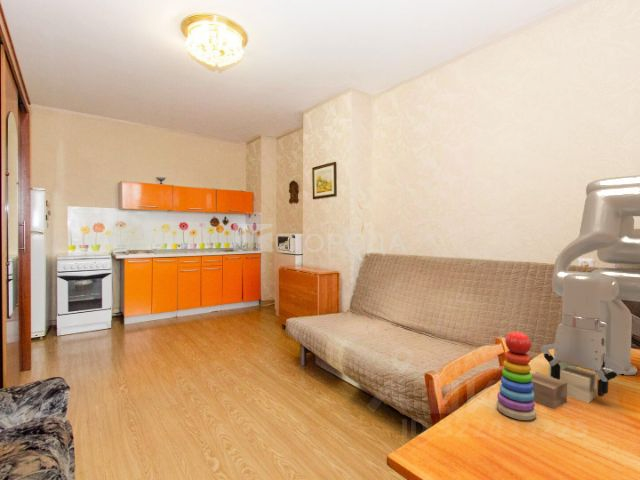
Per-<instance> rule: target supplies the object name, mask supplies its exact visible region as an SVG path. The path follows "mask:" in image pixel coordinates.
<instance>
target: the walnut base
mask: <svg viewBox="0 0 640 480" xmlns="http://www.w3.org/2000/svg"><path fill="white" fill-rule="evenodd" d="M531 374H532V380H531V382H532V383H533V386H534V387H533V392H534V399H533V400H534V403H538V404H540V405H543V406H544V407H547V408H549V409H552V410H555V409H556V408H558V407H560V406H562V405H563V404H565V403H567V401H568V400H567V399H568V396H567V382H564V381H561V380H558V379H555V378H552V377H549V375H546V374H543V373H540V372H537V371H535V372H534V373H531Z"/></svg>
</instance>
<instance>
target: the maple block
mask: <svg viewBox="0 0 640 480" xmlns="http://www.w3.org/2000/svg"><path fill="white" fill-rule="evenodd" d="M560 380H561V381H564V382H567V397H569V398H573V399H575V400H578V401H580V402H584V403H586V404H590V402H592V401H593V400H594V399H595V398H596V397H597V390H598V375H597V374H596V372H593V371H587V370H586V369H582V368H581V369H580V368H579V367H577V368H574V367H571V366H568V367H567V368H565V369H563V370H561V371H560Z"/></svg>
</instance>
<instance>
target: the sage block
mask: <svg viewBox="0 0 640 480" xmlns="http://www.w3.org/2000/svg"><path fill="white" fill-rule="evenodd" d="M552 356H553V358H554V359H555V357H554V355H552ZM559 365H560V371H561V370H563V369H565V368H567V367H568V366H571V367H574V368H578V367H577V366H574V365H570V364H567V363H563V362H560V363H559ZM548 371H549V373H548V376H549V377H551V366H550V365H549V369H548ZM552 378H553V377H552Z"/></svg>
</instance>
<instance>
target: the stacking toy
mask: <svg viewBox="0 0 640 480" xmlns="http://www.w3.org/2000/svg"><path fill="white" fill-rule="evenodd" d="M505 345H506V347H507V349H508V350H507V351H506V352H505V355H504V357H505V359H504V361H502V365H503V368H502V370H501V371H502V375H501V379H500V383H501V384H500V385H499V391H498V392H497V397H496V398H497V401H496V408H497V409H498V411H500V412H501V414H503V415H505V416H507V417H509V418H512V419H515V420H519V421H531V420H533V419H535V418H536V416H537V410H536V409H535V407H536V402H535V401H534V400H533V399H534V392H533V387H534V386H533V383H532V382H531V380H532V374H533V373H532V372H531V369H532V368H531V365H530V364H529V363H531V356H530V355H529V354H527V353H528V352H529V351H530V349H531V347H532V342H531V339H530V338H529V337H528V335H526V334H525V333H523V332H520V331H512V332H510V333H508V335H507V336H506V338H505Z"/></svg>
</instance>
